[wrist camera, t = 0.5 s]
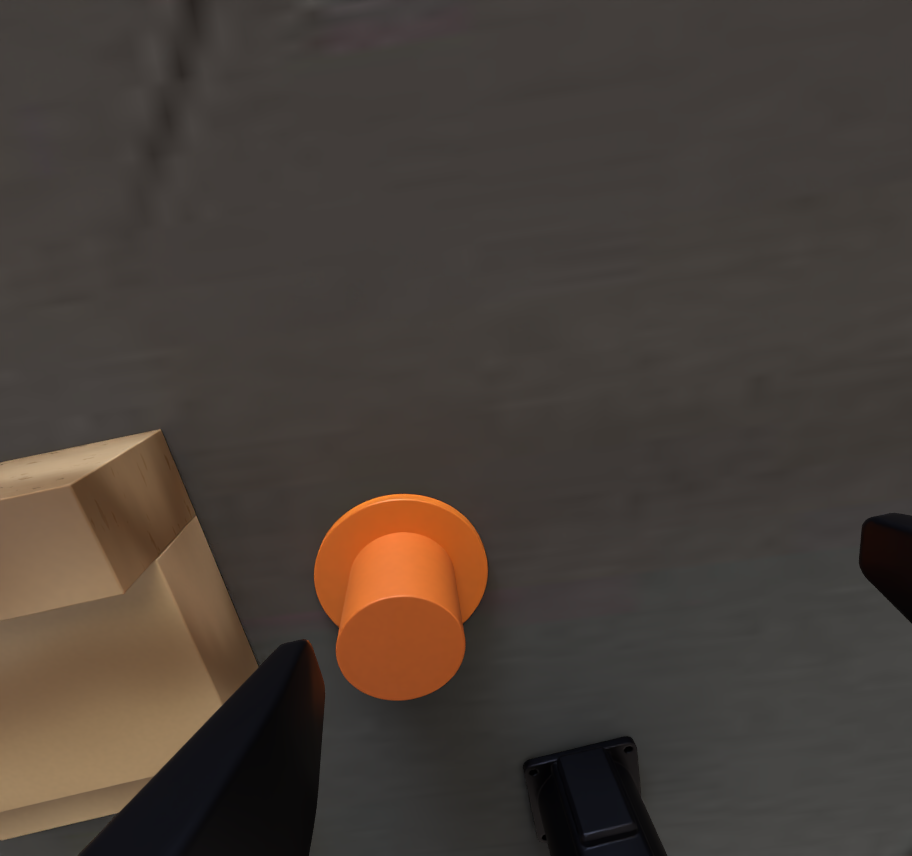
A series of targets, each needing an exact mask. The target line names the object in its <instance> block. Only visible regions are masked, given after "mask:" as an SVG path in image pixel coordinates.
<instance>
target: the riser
mask: <svg viewBox="0 0 912 856" xmlns="http://www.w3.org/2000/svg"><path fill="white" fill-rule="evenodd" d="M257 668H258V664H257V662H256V659H255V657H254V654H253V652H252V650H251V647H250V645H249V642H248V640H247V637H246V635H245V633H244V630H243V628H242V625H241V623H240V620H239V618H238V616H237V613H236V611H235V608H234V606H233V603H232V601H231V599H230V596H229V594H228V591H227V589H226V586H225V584H224V582H223V579H222V577H221V574H220V572H219V569H218V567H217V565H216V562H215V560H214V557H213V555H212V553H211V550H210V548H209V545H208V543H207V540H206V538H205V536H204V533H203V531H202V528H201V526H200V523H199V521H198V519H197V516H196V513H195V511H194V508H193V506H192V504H191V501H190V499H189V496H188V494H187V492H186V489H185V487H184V484H183V482H182V479H181V477H180V475H179V472H178V470H177V467H176V465H175V462H174V460H173V458H172V455H171V453H170V450H169V448H168V445H167V443H166V441H165V438H164V436H163V433H162V431H161V430H155V431H150V432H145V433H140V434H135V435H130V436H126V437H121V438H116V439H111V440H106V441H102V442H97V443H92V444H87V445H82V446H78V447H73V448H68V449H63V450H58V451H54V452H49V453H44V454H39V455H34V456H30V457H25V458H20V459H15V460H10V461H6V462H1V463H0V840H6V839H10V838H14V837H18V836H23V835H27V834H31V833H35V832H40V831H44V830H48V829H52V828H56V827H61V826H65V825H69V824H73V823H78V822H82V821H86V820H90V819H94V818H99V817H103V816H107V815H111V814H116V813H119V812H120V811H121V810H122V809H123V808H124V807H125V806H126V805H127V804H128V803H129V802H130V801H131V800H132V798H133V797H134V796H135V795H136V794H137V793H138V792H139V791H140V790H141V789H142V788H143V787H144V786H145V785H146V784H147V783H148V782H149V781H150V780H151V779H152V778H153V777H154V776H155V775H156V773H157V772H158V771H159V770H160V769H161V768H162V767H163V766H164V765H165V764H166V763H167V762H168V761H169V760H170V759H171V758H172V757H173V756H174V755H175V754H176V753H177V752H178V751H179V750H180V749H181V747H182V746H183V745H184V744H185V743H186V742H187V741H188V740H189V739H190V738H191V737H192V736H193V735H194V734H195V733H196V732H197V731H198V730H199V729H200V728H201V727H202V726H203V725H204V724H205V722H206V721H207V720H208V719H209V718H210V717H211V716H212V715H213V714H214V713H215V712H216V711H217V710H218V709H219V708H220V707H221V706H222V705H223V704H224V703H225V702H226V701H227V700H228V699H229V698H230V696H231V695H232V694H233V693H234V692H235V691H236V690H237V689H238V688H239V687H240V686H241V685H242V684H243V683H244V682H245V681H246V680H247V679H248V678H249V677H250V676H251V675H252V674H253V673H254V672H255V670H256V669H257Z"/></svg>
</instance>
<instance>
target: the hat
mask: <svg viewBox="0 0 912 856" xmlns="http://www.w3.org/2000/svg"><path fill="white" fill-rule="evenodd" d="M487 578H488V564H487V557H486V553H485V550H484V546H483V543H482V541H481V539H480V536H479V534H478V533H477V531H476V530H475V528H474V526H473V525H472V524H471V523H470V522H469V521H468V519H467V518H466V517H464V516H463V515H462V514H461V513H460V512H459V511H457V510H456V509H454V508H453V507H451V506H449V505H447V504H445V503H443V502H441V501H439V500H436V499H433V498H430V497H426V496H421V495H413V494H393V495H387V496H382V497H378V498H375V499H371V500H369V501H366V502H364V503H362V504H360V505H358V506H356V507H354V508H353V509H351V510H350V511H348V512H347V513H346V514H344V515H343V516H342V517H341V518H340V519H339V520H338V521H337V522H336V523H334V525H333V526H332V527H331V529H330V530H329V531H328V532H327V534H326V536H325V538H324V539H323V541H322V544H321V546H320V549H319V552H318V555H317V558H316V563H315V569H314V581H315V588H316V592H317V596H318V598H319V601H320V603H321V605H322V607H323V609H324V610H325V612H326V614H327V615H328V616H329V617H330V619H331V620H332V621H333V622H334V623H335V624H336V625H337V626H338V627H339V632H338V637H337V643H336V658H337V662H338V665H339V667H340V670H341V672H342V673H343V675H344V677H345V678H346V679H347V680H348V681H349V682H350V683H351V684H352V685H353V686H354V687H355V688H357V689H358V690H360V691H361V692H363V693H365V694H367V695H370V696H373V697H375V698H380V699H384V700H396V701H400V700H410V699H415V698H419V697H422V696H425V695H427V694H430V693H432V692H434V691H436V690H438V689H439V688H440V687H442V686H443V685H445V684H446V683H447V682H448V681H449V680H450V679H451V678H452V677H453V676H454V675H455V673H456V672H457V670H458V669H459V667H460V665H461V663H462V660H463V657H464V653H465V635H464V629H463V623H464V622H465V621H466V620H467V619H468V618H469V617H470V616H471V615H472V613H473V612H474V611H475V609H476V608H477V606H478V604H479V602H480V600H481V598H482V596H483V594H484V591H485V588H486V583H487Z"/></svg>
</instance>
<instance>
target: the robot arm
mask: <svg viewBox="0 0 912 856" xmlns="http://www.w3.org/2000/svg"><path fill="white" fill-rule="evenodd" d="M859 565H860V568H861V571H862V573H863V574H864V576H865V577H866V578H867V579H868V580H869V581H870V582H871V583H872V584H873V585H874V586H875V587H876V588H877V589H878V590H879V591H880V592H881V593H882V594H883V595H884V596H885V597H886V598H887V599H888V600H889V601H890V602H891V603H892V604H893V605H894V606H895V607H896V608H897V609H898V610H899V611H900V612H901V613H902V614H903V615H904V616H905V617H906V618H907V619H908V620H909V621H910V622H911V623H912V516H910V515H905V514H899V513H889V514H884V515H880V516H875V517H871V518H868V519H867V520H865V522H864V523H863V525H862V532H861V543H860V554H859ZM324 704H325V686H324V681H323V677H322V674H321V671H320V668H319V665H318V662H317V659H316V656H315V653H314V650H313V647H312V645H311V643H310V642H309V641H308V640H306V639H302V640H298V641H293V642H288V643H284V644H282V645H280V646H279V647H278V648H277V649H276V650H275V651H274V652H273V653H272V654H271V655H270V656H269V657H268V658H267V659H266V660H265V661H264V662H263V663H262V664H261V665H260V666H259V667H258V668H257V669H256V670H255V672H254V673H253V674H252V675H251V676H250V677H249V678H248V679H247V680H246V681H245V682H244V683H243V684H242V685H241V686H240V687H239V688H238V689H237V690H236V691H235V692H234V693H233V694H232V695H231V696H230V698H229V699H228V700H227V701H226V702H225V703H224V704H223V705H222V706H221V707H220V708H219V709H218V710H217V711H216V712H215V713H214V714H213V715H212V716H211V717H210V718H209V719H208V720H207V721H206V722H205V724H204V725H203V726H202V727H201V728H200V729H199V730H198V731H197V732H196V733H195V734H194V735H193V736H192V737H191V738H190V739H189V740H188V741H187V742H186V743H185V744H184V745H183V746H182V747H181V749H180V750H179V751H178V752H177V753H176V754H175V755H174V756H173V757H172V758H171V759H170V760H169V761H168V762H167V763H166V764H165V765H164V766H163V767H162V768H161V769H160V770H159V771H158V772H157V773H156V775H155V776H154V777H153V778H152V779H151V780H150V781H149V782H148V783H147V784H146V785H145V786H144V787H143V788H142V789H141V790H140V791H139V792H138V793H137V794H136V795H135V796H134V797H133V798H132V800H131V801H130V802H129V803H128V804H127V805H126V806H125V807H124V808H123V809H122V810H121V811H120V812H119V813H118V814H117V815H116V816H115V817H114V818H113V819H112V820H111V821H110V822H109V823H108V824H107V826H106V827H105V828H104V829H103V830H102V831H101V832H100V833H99V834H98V835H97V836H96V837H95V838H94V839H93V840H92V841H91V842H90V843H89V844H88V845H87V846H86V847H85V848H84V849H83V850H82V851H81V853H80V854H79V855H78V856H309V852H310V846H311V840H312V834H313V828H314V822H315V815H316V808H317V798H318V787H319V773H320V759H321V745H322V732H323V718H324ZM523 769H524V774H525V779H526V784H527V789H528V794H529V799H530V804H531V809H532V814H533V819H534V824H535V829H536V833H537V838H538V840H539V842H541V843H548V847H549V851H550V855H551V856H667V854H666V852H665V849H664V847H663V845H662V843H661V841H660V838H659V836H658V834H657V832H656V829H655V827H654V825H653V823H652V821H651V818H650V816H649V814H648V812H647V810H646V807H645V805H644V803H643V801H642V798H641V788H640V778H639V767H638V756H637V747H636V745H635V743H634V741H633V739H632V738H631V737H628V736H627V737H621V738H617V739H613V740H609V741H605V742H601V743H596V744H592V745H588V746H584V747H580V748H576V749H571V750H567V751H563V752H559V753H555V754H551V755H546V756H542V757H538V758H534V759H530V760H528V761H526V762H525V763H524V765H523Z"/></svg>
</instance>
